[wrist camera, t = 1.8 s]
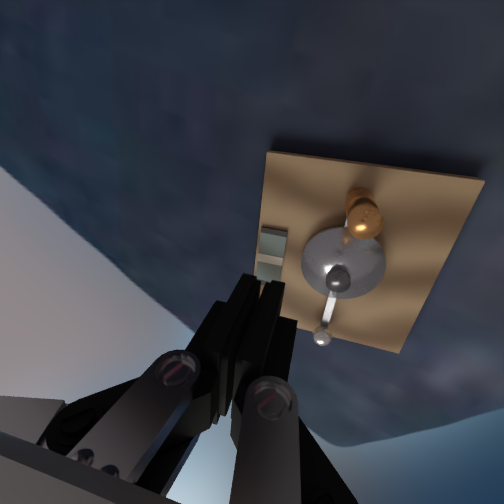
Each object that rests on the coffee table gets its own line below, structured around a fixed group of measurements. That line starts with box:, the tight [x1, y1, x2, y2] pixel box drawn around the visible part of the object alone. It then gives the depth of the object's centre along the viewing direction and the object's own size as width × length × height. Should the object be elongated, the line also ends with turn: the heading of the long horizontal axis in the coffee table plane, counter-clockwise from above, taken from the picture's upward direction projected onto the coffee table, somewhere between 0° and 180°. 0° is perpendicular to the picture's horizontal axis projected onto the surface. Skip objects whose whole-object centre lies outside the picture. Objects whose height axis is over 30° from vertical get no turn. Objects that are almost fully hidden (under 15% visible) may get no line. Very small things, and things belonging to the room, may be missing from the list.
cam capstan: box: [301, 187, 386, 346], centre depth 26 cm, size 18×8×6 cm, turn 175°
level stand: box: [254, 150, 485, 353], centre depth 29 cm, size 20×18×2 cm
